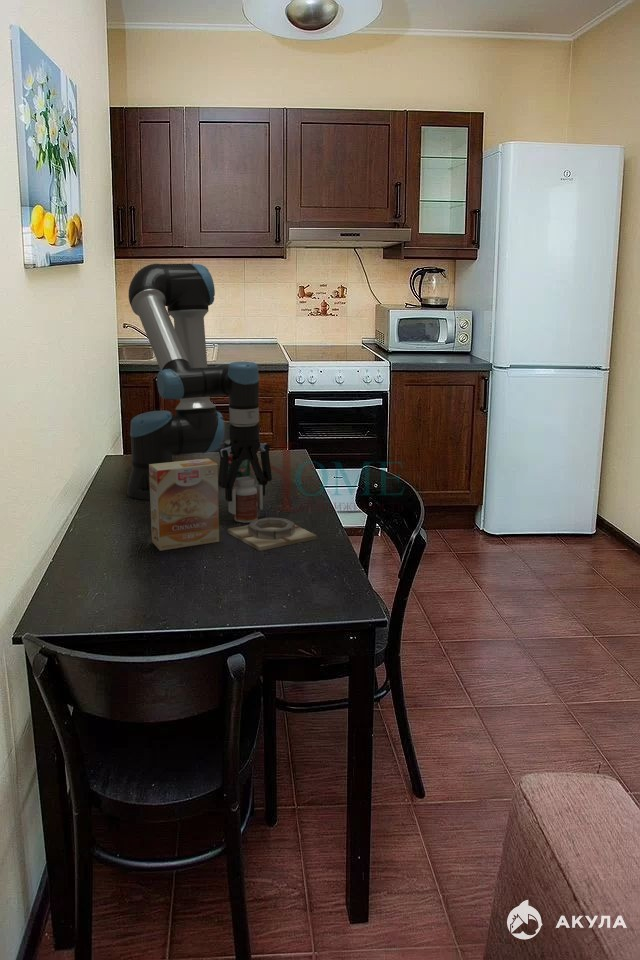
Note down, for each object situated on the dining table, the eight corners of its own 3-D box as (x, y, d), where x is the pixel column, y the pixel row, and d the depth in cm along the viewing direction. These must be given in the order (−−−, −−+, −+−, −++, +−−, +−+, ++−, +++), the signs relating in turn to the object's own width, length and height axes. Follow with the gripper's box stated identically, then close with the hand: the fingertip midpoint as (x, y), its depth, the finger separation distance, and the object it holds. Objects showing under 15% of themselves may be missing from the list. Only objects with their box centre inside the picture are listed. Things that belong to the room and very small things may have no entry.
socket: (227, 532, 210) (227, 521, 210) (282, 522, 219) (282, 511, 218) (259, 551, 197) (259, 538, 197) (316, 539, 206) (316, 527, 205)
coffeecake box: (160, 551, 197) (156, 470, 192) (151, 542, 203) (147, 463, 198) (220, 542, 204) (218, 463, 199) (210, 533, 210) (208, 457, 205)
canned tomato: (255, 474, 267) (254, 440, 264) (240, 480, 260) (239, 445, 257) (235, 471, 271) (234, 437, 268) (219, 476, 264) (219, 442, 261)
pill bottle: (262, 521, 220) (261, 479, 217) (241, 525, 217) (240, 483, 214) (250, 515, 225) (250, 474, 222) (229, 518, 222) (229, 477, 219)
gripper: (215, 430, 206) (217, 520, 212) (285, 422, 217) (286, 508, 223) (201, 425, 212) (204, 512, 218) (271, 417, 223) (271, 501, 229)
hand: (245, 510), depth 220 cm, fingers open, 7 cm apart
